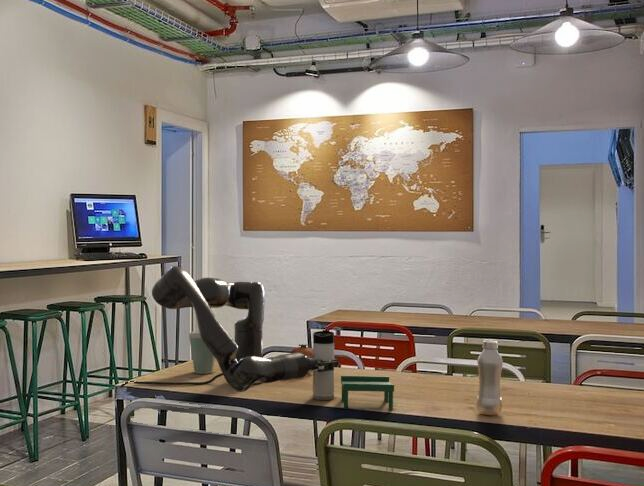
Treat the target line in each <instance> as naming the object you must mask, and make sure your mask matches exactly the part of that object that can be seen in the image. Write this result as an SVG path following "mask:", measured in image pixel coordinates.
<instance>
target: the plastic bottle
mask: <svg viewBox="0 0 644 486" xmlns="http://www.w3.org/2000/svg"><path fill="white" fill-rule="evenodd" d="M482 348H483V350H482V351H481V353H480V354H479V355H478V357H477V371H478V390H477V391H478V393H477V397H476V403H475V407H476V411H477V412H478V413H479V414H482V415H486V416H496V415H500V413H501V412H502V409H503V401H502V394H501V375H502V370H503V365H504V361H503V357H502V355H501V354H500V353H499V351H498V349H499V347H498V341H497V340H491V339H490V340H487V339H486V340H483V341H482Z"/></svg>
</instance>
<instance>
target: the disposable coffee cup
mask: <svg viewBox="0 0 644 486" xmlns="http://www.w3.org/2000/svg"><path fill="white" fill-rule="evenodd" d="M188 338H189V346H190V352H191V358H192V365H193V371H194V373H195V374H199V375H200V374H205V375H206V374H212V373H213V371H214V369H215V368H214V367H215V361H216V358H215V357H214V356H213V355H212V353H211V352H210V351H209V350H208V348H207V347H206V346H205V344H204V343H203V341H202V339H201V337H200V333H199V330H195V331H191V332H189V334H188Z"/></svg>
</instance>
